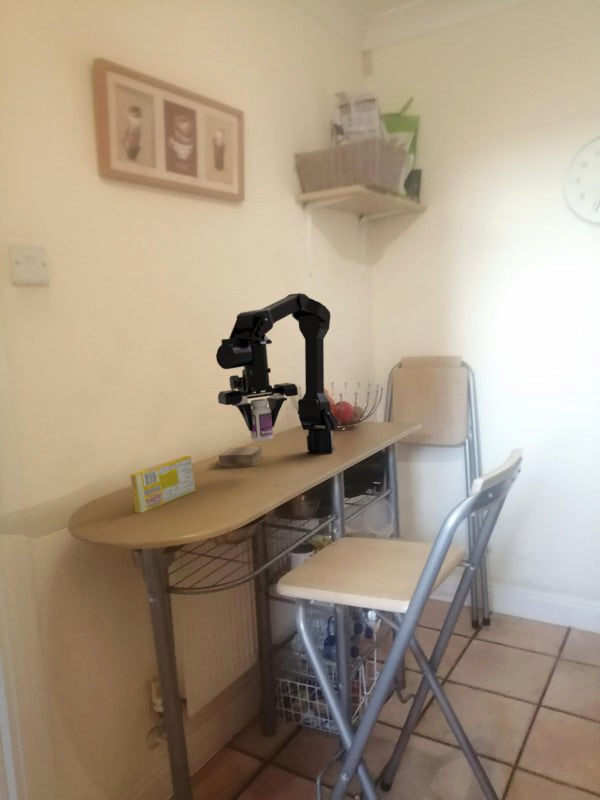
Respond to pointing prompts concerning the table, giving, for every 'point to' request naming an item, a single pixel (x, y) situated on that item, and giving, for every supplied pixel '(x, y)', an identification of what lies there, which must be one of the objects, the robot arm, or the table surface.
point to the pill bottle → (261, 421)
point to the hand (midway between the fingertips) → (261, 429)
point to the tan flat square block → (240, 456)
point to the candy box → (162, 483)
